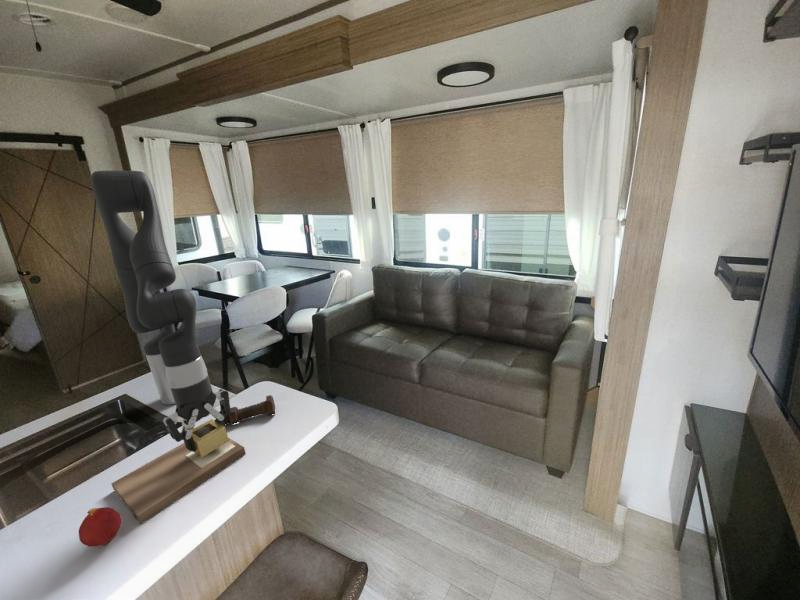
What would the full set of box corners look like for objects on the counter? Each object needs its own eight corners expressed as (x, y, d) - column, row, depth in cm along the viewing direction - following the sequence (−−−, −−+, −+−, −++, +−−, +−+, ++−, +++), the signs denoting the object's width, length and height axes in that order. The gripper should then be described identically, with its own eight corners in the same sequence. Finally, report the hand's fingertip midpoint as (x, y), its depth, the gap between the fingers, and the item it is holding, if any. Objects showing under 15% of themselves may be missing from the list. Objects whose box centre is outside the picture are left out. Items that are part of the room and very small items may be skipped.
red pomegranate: (105, 529, 67) (91, 495, 65) (134, 527, 67) (120, 493, 65) (78, 558, 62) (61, 523, 60) (109, 557, 61) (93, 521, 59)
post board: (114, 490, 77) (101, 460, 75) (213, 433, 94) (205, 407, 92) (140, 524, 68) (127, 490, 65) (245, 454, 84) (238, 425, 82)
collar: (188, 448, 83) (184, 433, 81) (215, 432, 87) (211, 419, 86) (201, 457, 79) (196, 442, 78) (228, 441, 84) (224, 426, 83)
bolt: (221, 431, 98) (276, 414, 102) (216, 432, 93) (274, 415, 97) (217, 410, 99) (272, 394, 103) (212, 410, 94) (270, 394, 99)
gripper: (212, 361, 86) (229, 420, 91) (145, 389, 75) (168, 455, 80) (228, 367, 82) (244, 429, 86) (159, 398, 71) (182, 467, 75)
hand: (207, 441), depth 83 cm, fingers closed on collar, 6 cm apart
